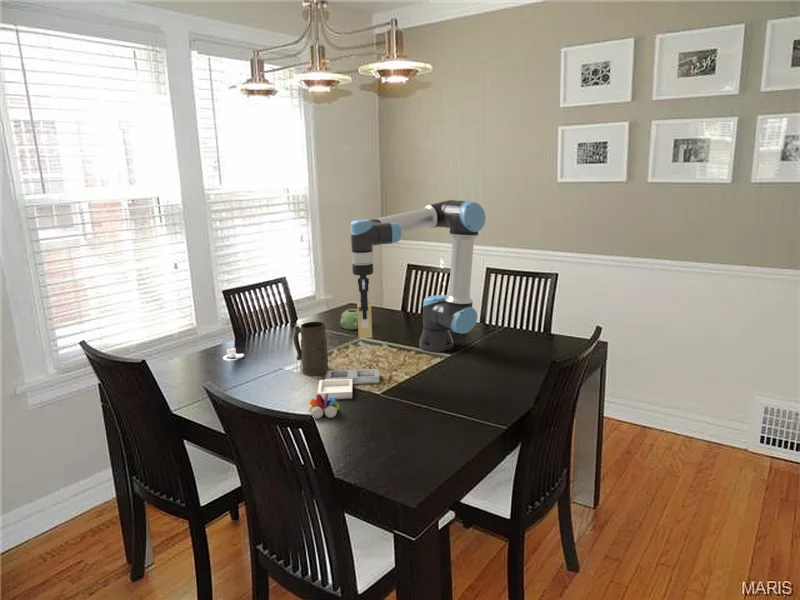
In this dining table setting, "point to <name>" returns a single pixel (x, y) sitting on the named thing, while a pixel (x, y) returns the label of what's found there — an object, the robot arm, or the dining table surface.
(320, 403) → the rainbow petal fan toy
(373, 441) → the dining table surface
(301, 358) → the beer stein
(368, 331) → the tan knobbed block
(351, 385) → the parts tray
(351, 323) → the green dome pot
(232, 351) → the white valve handwheel
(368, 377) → the gray rectangular frame
